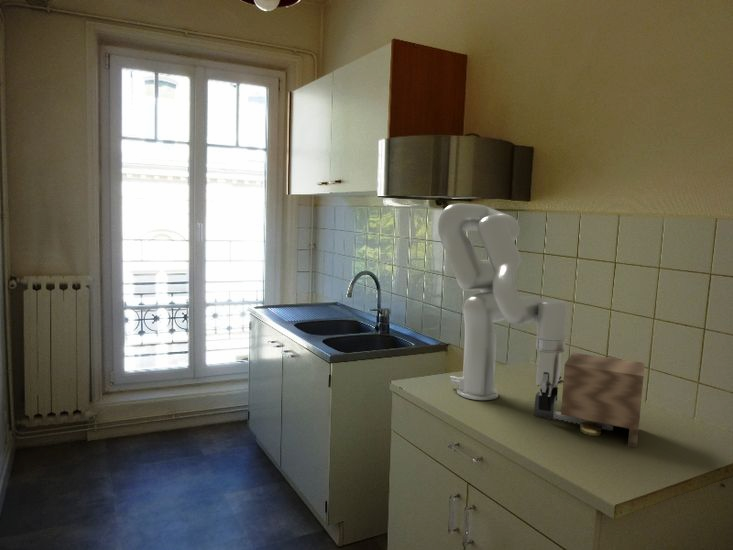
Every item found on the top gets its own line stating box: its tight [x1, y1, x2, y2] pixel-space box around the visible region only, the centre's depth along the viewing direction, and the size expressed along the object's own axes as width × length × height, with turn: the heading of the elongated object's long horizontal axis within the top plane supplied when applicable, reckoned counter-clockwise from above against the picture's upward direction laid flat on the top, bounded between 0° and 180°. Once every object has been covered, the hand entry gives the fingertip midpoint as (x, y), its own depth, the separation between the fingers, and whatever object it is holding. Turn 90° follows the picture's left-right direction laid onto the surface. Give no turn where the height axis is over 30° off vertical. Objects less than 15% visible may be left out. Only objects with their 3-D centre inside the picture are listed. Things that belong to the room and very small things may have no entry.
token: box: [579, 422, 602, 437], centre depth 141 cm, size 5×5×2 cm
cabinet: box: [560, 352, 646, 449], centre depth 141 cm, size 18×14×18 cm
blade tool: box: [533, 391, 614, 432], centre depth 147 cm, size 20×4×6 cm, turn 62°
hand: (548, 405), depth 150 cm, fingers open, 9 cm apart
